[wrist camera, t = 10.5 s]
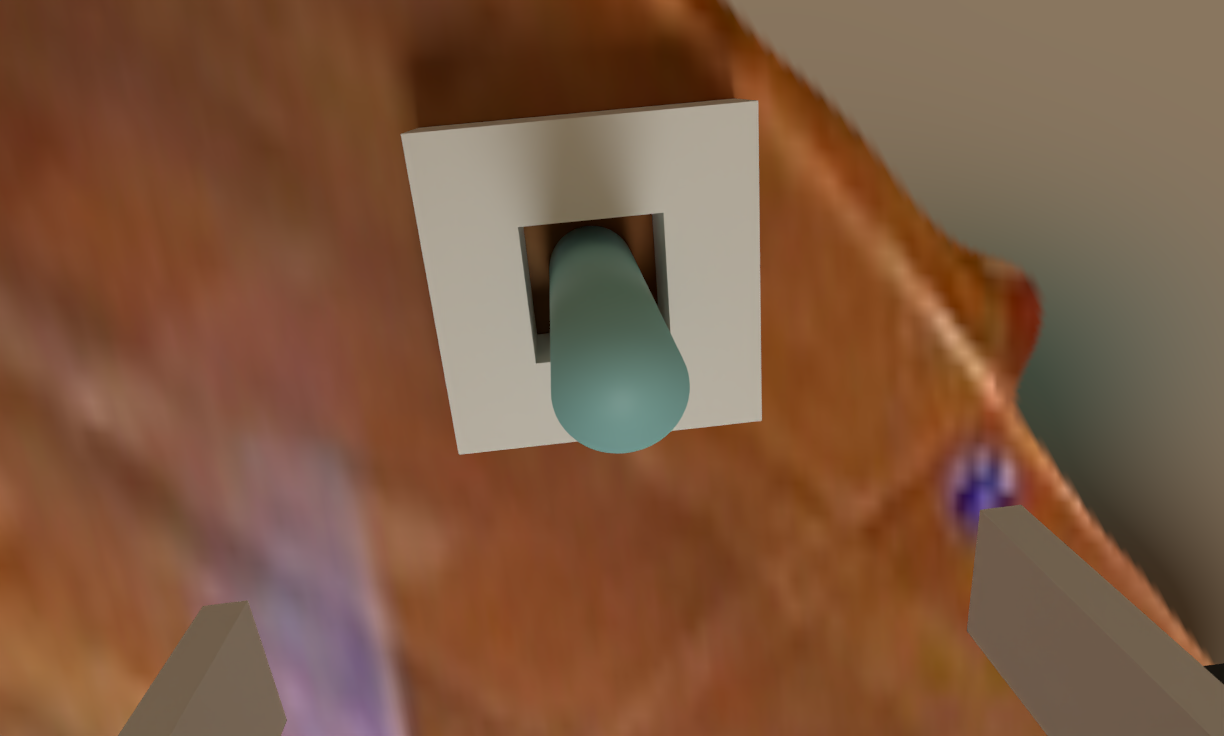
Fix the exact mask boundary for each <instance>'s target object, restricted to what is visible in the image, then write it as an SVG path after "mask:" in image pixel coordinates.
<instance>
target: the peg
mask: <svg viewBox="0 0 1224 736" xmlns="http://www.w3.org/2000/svg"><path fill="white" fill-rule="evenodd" d="M549 277H550V365H551V400H552V405H553V409H554V412H555V415H556V417H557V419H558V420H559V422H560V424H561V425H562V427H563V428H564V429H565V430H566V432H567V433H568V434H569V435H570V436H572V437H573V438H574V439H575V440H576V441H578V442H580V443H581V444H583V445H585V446H587V447H589V448H591V449H594V450H597V451H601V452H607V453H629V452H634V451H638V450H641V449H644V448H647V447H649V446H651V445H653V444H655V443H657V442H658V441H660V440H661V439H663V438H664V437H665V436H666V435H668V434H669V433H670V432H671V431H672V430H673V428H674V427H675V426H676V425H677V424H678V422H679V421H680V419H681V417H682V416H683V413H684V411H685V409H686V406H687V403H688V399H689V393H690V381H689V374H688V370H687V367H686V365H685V362H684V360H683V358H682V356H681V354H680V352H679V350H678V348H677V345H676V343H675V341H674V339H673V337H672V335H671V333H670V331H669V329H668V327H667V325H666V323H665V321H664V319H663V317H662V315H661V313H660V311H659V309H658V306H657V304H656V302H655V300H654V298H653V296H652V294H651V292H650V290H649V288H648V286H647V284H646V282H645V280H644V278H643V276H642V274H641V272H640V269H639V267H638V265H637V263H636V261H635V259H634V257H633V255H632V253H631V251H630V249H629V247H628V245H627V244H626V242H625V241H624V240H623V239H622V238H621V237H620V236H619V235H618V234H616V233H615V232H613V231H611V230H610V229H607V228H604V227H600V226H583V227H580V228H576V229H574V230H572V231H570V232H569V233H567V234H566V235H565V236H563V237H562V238H561V239H560V240H559V242H558V243H557V244H556V246H555V248H554V250H553V252H552V255H551V258H550V265H549Z"/></svg>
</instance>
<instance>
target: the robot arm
mask: <svg viewBox="0 0 1224 736" xmlns="http://www.w3.org/2000/svg"><path fill="white" fill-rule="evenodd" d="M967 632H968V633H969V634H970V635H971V637H972V638H973V639H974V641H975V642H976V643H977V645H978V646H979V647H980V648H981V650H982V651H983V652H984V654H985V655H986V656H987V658H988V659H989V660H990V661H991V663H992V664H993V665H994V667H995V668H996V669H997V671H998V672H999V673H1000V674H1001V676H1002V677H1003V678H1004V680H1005V681H1006V682H1007V683H1008V685H1009V686H1010V687H1011V689H1012V690H1013V691H1014V693H1015V694H1016V695H1017V696H1018V698H1019V699H1020V700H1021V702H1022V703H1023V704H1024V706H1025V707H1026V708H1027V709H1028V711H1029V712H1030V713H1031V715H1032V716H1033V717H1034V719H1035V720H1036V721H1037V722H1038V724H1039V725H1040V726H1041V728H1042V729H1043V730H1044V732H1045V733H1046V734H1047V735H1048V736H1224V663H1223V664H1216V665H1209V666H1202V665H1201V664H1200V663H1199V662H1198V661H1197V660H1195V659H1194V658H1193V657H1192V656H1191V655H1190V654H1189V653H1188V652H1186V651H1185V650H1184V649H1183V648H1182V647H1181V646H1180V645H1179V644H1177V643H1176V642H1175V641H1174V640H1173V639H1172V638H1171V637H1169V636H1168V635H1167V634H1166V633H1165V632H1164V631H1163V630H1162V629H1160V628H1159V627H1158V626H1157V625H1156V624H1155V623H1154V622H1153V621H1151V620H1150V619H1149V618H1148V617H1147V616H1146V615H1145V614H1144V613H1142V612H1141V611H1140V610H1139V609H1138V608H1137V607H1136V606H1135V605H1133V604H1132V603H1131V602H1130V601H1129V600H1128V599H1127V598H1125V597H1124V596H1123V595H1122V594H1121V593H1120V592H1119V591H1118V590H1116V589H1115V588H1114V587H1113V586H1112V585H1111V584H1110V583H1109V582H1107V581H1106V580H1105V579H1104V578H1103V577H1102V576H1101V575H1100V574H1098V573H1097V572H1096V571H1095V570H1094V569H1093V568H1092V567H1090V566H1089V565H1088V564H1087V563H1086V562H1085V561H1084V560H1083V559H1081V558H1080V557H1079V556H1078V555H1077V554H1076V553H1075V552H1074V551H1072V550H1071V549H1070V548H1069V547H1068V546H1067V545H1066V544H1065V543H1063V542H1062V541H1061V540H1060V539H1059V538H1058V537H1057V536H1055V535H1054V534H1053V533H1052V532H1051V531H1050V530H1049V529H1048V528H1046V527H1045V526H1044V525H1043V524H1042V523H1041V522H1040V521H1039V520H1037V519H1036V518H1035V517H1034V516H1033V515H1032V514H1031V513H1030V512H1028V511H1027V510H1026V509H1025V508H1024V507H1023V506H1022V505H1016V506H1008V507H1000V508H992V509H984V510H980V517H979V526H978V535H977V544H976V553H975V562H974V571H973V580H972V589H971V598H970V607H969V616H968V625H967ZM286 721H287V719H286V716H285V713H284V710H283V707H282V704H281V701H280V698H279V695H278V691H277V688H276V685H275V682H274V679H273V676H272V673H271V670H270V667H269V664H268V661H267V658H266V655H265V652H264V649H263V646H262V643H261V640H260V636H259V633H258V630H257V627H256V624H255V621H254V618H253V615H252V612H251V609H250V606H249V603H248V601H241V602H233V603H225V604H216V605H208V606H203V607H202V608H201V610H200V611H199V613H198V614H197V616H196V617H195V619H194V620H193V622H192V624H191V625H190V627H189V628H188V630H187V631H186V633H185V634H184V636H183V637H182V639H181V640H180V642H179V643H178V645H177V646H176V648H175V649H174V651H173V653H172V654H171V656H170V657H169V659H168V660H167V662H166V663H165V665H164V666H163V668H162V669H161V671H160V672H159V674H158V675H157V677H156V679H155V680H154V682H153V683H152V685H151V686H150V688H149V689H148V691H147V692H146V694H145V695H144V697H143V698H142V700H141V701H140V703H139V704H138V706H137V708H136V709H135V711H134V712H133V714H132V715H131V717H130V718H129V720H128V721H127V723H126V724H125V726H124V727H123V729H122V730H121V732H120V733H119V735H118V736H281V734H282V731H283V729H284V726H285V724H286Z"/></svg>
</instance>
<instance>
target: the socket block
mask: <svg viewBox="0 0 1224 736" xmlns="http://www.w3.org/2000/svg"><path fill="white" fill-rule="evenodd" d="M401 138H402V144H403V149H404V155H405V160H406V166H407V171H408V177H409V182H410V188H411V193H412V199H413V204H414V210H415V215H416V221H417V226H418V232H419V237H420V243H421V248H422V254H423V260H424V265H425V271H426V276H427V282H428V287H429V293H430V298H431V304H432V309H433V315H434V320H435V326H436V331H437V337H438V342H439V348H440V353H441V359H442V364H443V370H444V375H445V381H446V386H447V392H448V397H449V403H450V408H451V414H452V419H453V425H454V430H455V436H456V441H457V447H458V452H459V455H460V454H469V453H478V452H487V451H496V450H505V449H514V448H522V447H531V446H540V445H549V444H558V443H567V442H576V440H575V439H574V438H573V437H572V436H570V435H569V434H568V433H567V432H566V430H565V429H564V428H563V427H562V425H561V424H560V422H559V420H558V419H557V417H556V415H555V412H554V409H553V405H552V400H551V365H550V333H546V334H537V329H536V321H535V313H534V306H533V298H532V290H531V282H530V275H529V267H528V259H527V251H526V244H525V236H524V228H523V227H524V226H534V225H544V224H554V223H564V222H574V221H584V220H595V219H605V218H615V217H625V216H635V215H645V214H652V220H653V236H654V252H655V267H656V283H657V298H658V309H659V311H660V313H661V315H662V317H663V319H664V321H665V323H666V325H667V327H668V329H669V331H670V333H671V335H672V337H673V339H674V341H675V343H676V345H677V348H678V350H679V352H680V354H681V356H682V358H683V360H684V362H685V365H686V367H687V370H688V374H689V381H690V393H689V399H688V403H687V406H686V409H685V411H684V413H683V416H682V417H681V419H680V421H679V422H678V424H677V425H676V426H675V427H674V428H673V430H672V431H674V430H683V429H692V428H701V427H710V426H718V425H727V424H736V423H745V422H754V421H762V404H761V313H760V223H759V133H758V101H756V100H746V99H735V98H734V99H723V100H712V101H701V102H691V103H680V104H669V105H658V106H648V107H637V108H626V109H615V110H605V111H594V112H583V113H572V114H562V115H551V116H540V117H530V118H519V119H508V120H497V121H487V122H476V123H465V124H454V125H444V126H433V127H422V128H416V129H413V130H411V131H408V132H405V133H402V134H401Z"/></svg>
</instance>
